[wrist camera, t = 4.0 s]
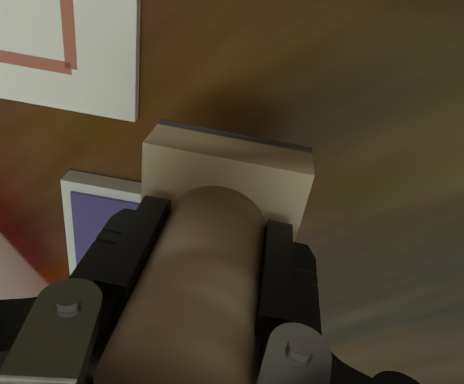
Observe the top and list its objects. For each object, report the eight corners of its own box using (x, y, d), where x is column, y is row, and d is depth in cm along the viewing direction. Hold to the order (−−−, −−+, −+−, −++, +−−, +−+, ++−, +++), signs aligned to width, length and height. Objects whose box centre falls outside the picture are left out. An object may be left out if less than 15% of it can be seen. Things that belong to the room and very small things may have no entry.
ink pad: (237, 200, 23) (235, 213, 22) (219, 295, 27) (217, 311, 26) (70, 169, 23) (58, 181, 22) (78, 269, 27) (69, 283, 26)
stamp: (311, 147, 12) (332, 345, 6) (279, 262, 15) (270, 481, 9) (161, 119, 12) (30, 282, 6) (155, 236, 15) (59, 435, 9)
